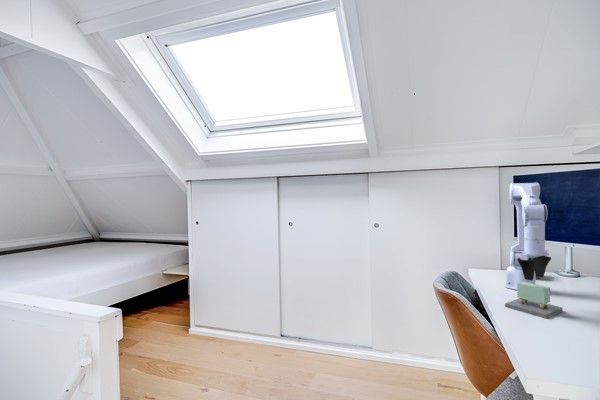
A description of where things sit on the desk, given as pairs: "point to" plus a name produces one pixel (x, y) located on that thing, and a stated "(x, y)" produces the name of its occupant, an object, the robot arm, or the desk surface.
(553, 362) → the desk surface
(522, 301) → the plate
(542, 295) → the board block
